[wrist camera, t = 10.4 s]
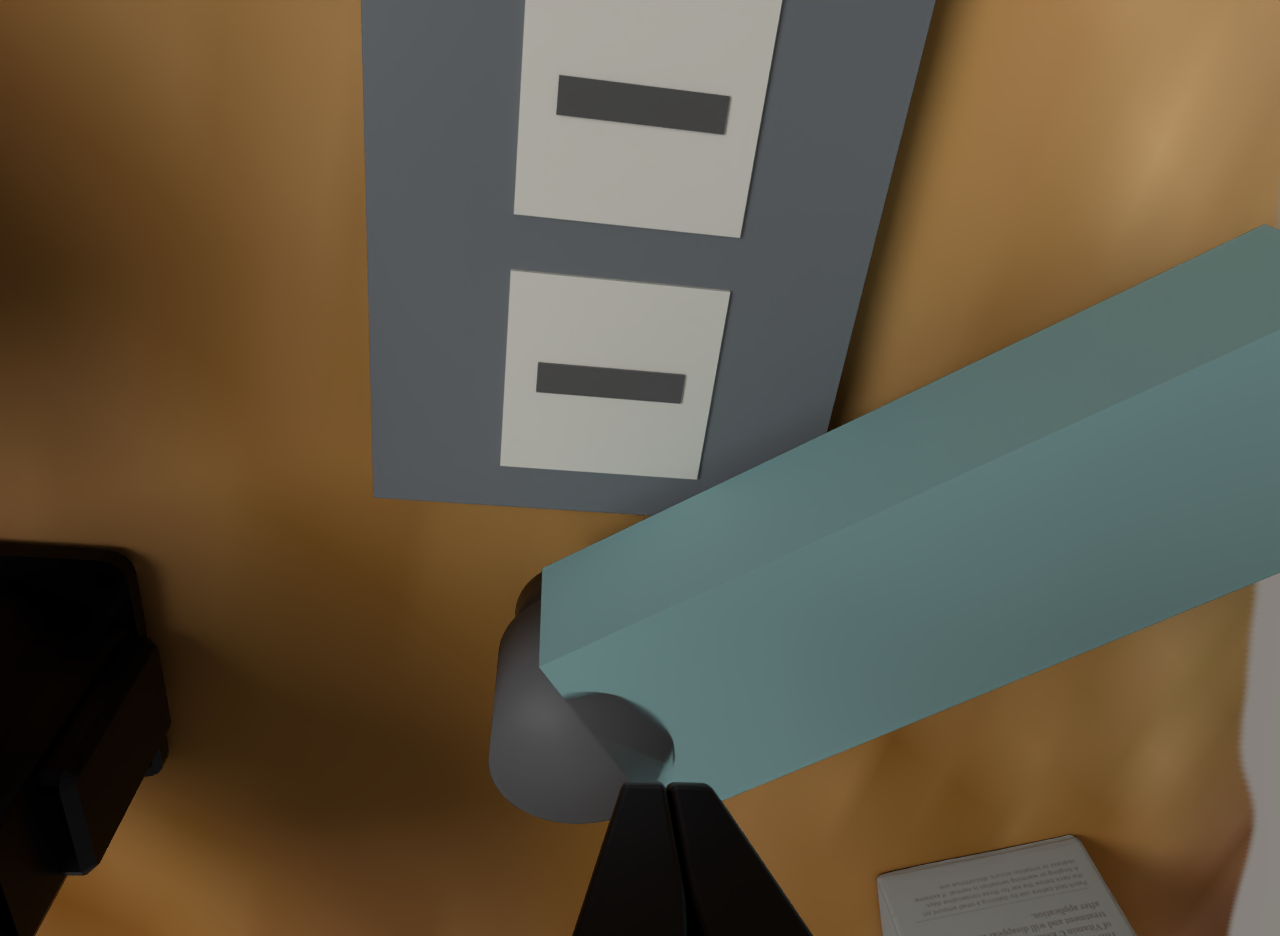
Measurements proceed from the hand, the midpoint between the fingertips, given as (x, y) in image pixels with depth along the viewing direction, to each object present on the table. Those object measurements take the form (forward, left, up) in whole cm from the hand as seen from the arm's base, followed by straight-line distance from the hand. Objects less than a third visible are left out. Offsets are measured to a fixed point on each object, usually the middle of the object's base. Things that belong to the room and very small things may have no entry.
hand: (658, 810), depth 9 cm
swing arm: (+6, -3, -10) cm, 11 cm away
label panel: (0, +2, -11) cm, 11 cm away
